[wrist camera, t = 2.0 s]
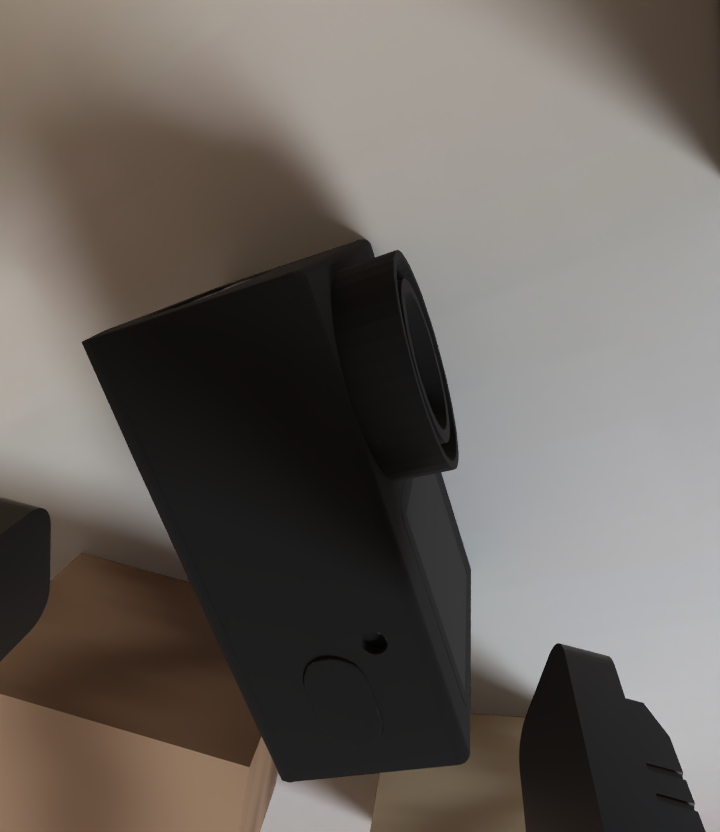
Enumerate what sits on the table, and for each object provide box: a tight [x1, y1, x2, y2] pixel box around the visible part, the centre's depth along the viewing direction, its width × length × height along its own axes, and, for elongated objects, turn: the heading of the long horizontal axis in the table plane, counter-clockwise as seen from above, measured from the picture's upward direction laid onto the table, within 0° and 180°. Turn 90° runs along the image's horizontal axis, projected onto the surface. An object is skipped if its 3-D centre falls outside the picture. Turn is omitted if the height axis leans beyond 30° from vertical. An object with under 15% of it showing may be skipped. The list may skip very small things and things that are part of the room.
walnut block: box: [0, 553, 278, 832], centre depth 20 cm, size 8×8×6 cm
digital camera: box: [82, 240, 471, 782], centre depth 15 cm, size 10×5×7 cm, turn 18°
